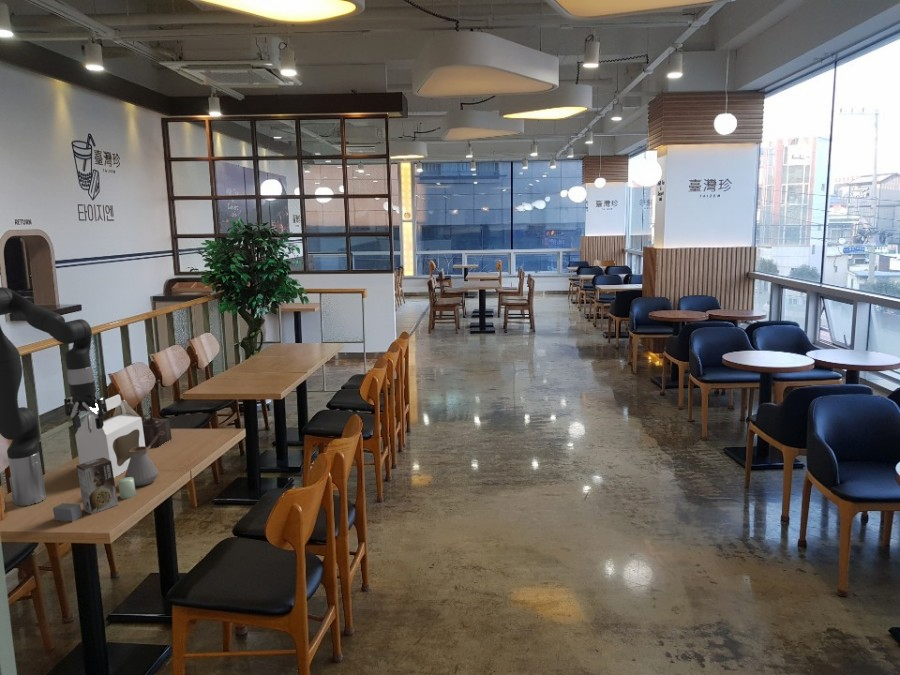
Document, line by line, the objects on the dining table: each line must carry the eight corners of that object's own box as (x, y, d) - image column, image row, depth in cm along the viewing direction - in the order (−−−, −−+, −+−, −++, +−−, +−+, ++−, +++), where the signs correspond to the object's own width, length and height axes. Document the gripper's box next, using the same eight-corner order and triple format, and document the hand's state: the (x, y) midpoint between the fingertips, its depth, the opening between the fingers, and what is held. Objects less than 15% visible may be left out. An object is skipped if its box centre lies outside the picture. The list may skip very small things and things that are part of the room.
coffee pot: (147, 488, 248) (141, 449, 245) (118, 488, 250) (113, 448, 247) (180, 466, 269) (175, 430, 266) (153, 466, 271) (148, 429, 268)
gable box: (118, 457, 283) (109, 391, 278) (147, 458, 280) (138, 391, 275) (81, 478, 261) (70, 407, 256) (112, 479, 259) (101, 408, 254)
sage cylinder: (117, 498, 241) (114, 482, 240) (126, 492, 245) (124, 476, 244) (129, 499, 240) (127, 483, 238) (138, 493, 244) (136, 477, 243)
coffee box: (110, 500, 239) (103, 456, 236) (118, 505, 235) (112, 460, 232) (82, 510, 232) (75, 464, 229) (91, 514, 228) (84, 468, 225)
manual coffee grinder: (150, 438, 305) (145, 399, 302) (172, 439, 303) (167, 400, 299) (127, 451, 290) (121, 410, 287) (150, 451, 288) (144, 410, 284)
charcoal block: (55, 521, 225) (52, 508, 224) (64, 515, 229) (62, 503, 228) (73, 522, 223) (70, 509, 223) (82, 516, 227) (80, 504, 226)
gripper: (54, 383, 223) (62, 431, 226) (91, 383, 220) (99, 432, 223) (71, 377, 230) (78, 424, 233) (108, 377, 227) (115, 424, 230)
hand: (88, 428), depth 228 cm, fingers open, 8 cm apart
